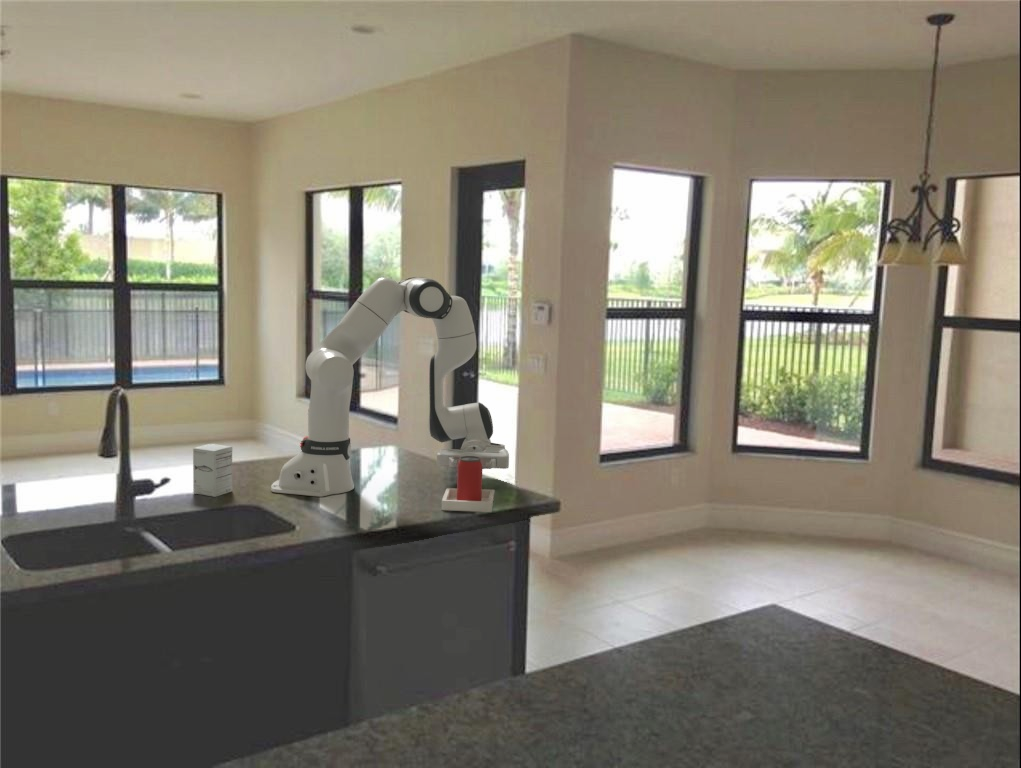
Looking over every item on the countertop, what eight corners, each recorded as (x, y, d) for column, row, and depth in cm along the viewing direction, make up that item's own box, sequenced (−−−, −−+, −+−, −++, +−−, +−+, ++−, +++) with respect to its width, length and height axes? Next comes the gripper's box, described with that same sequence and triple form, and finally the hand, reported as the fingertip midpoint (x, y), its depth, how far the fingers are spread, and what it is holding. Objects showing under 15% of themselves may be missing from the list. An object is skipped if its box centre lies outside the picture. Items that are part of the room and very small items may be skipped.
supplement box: (192, 494, 224) (191, 447, 223) (211, 487, 231) (211, 442, 229) (214, 497, 221) (213, 450, 220) (233, 491, 228) (233, 445, 227)
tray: (441, 510, 217) (441, 500, 217) (446, 496, 230) (446, 487, 230) (491, 512, 217) (492, 502, 216) (493, 498, 230) (494, 489, 229)
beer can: (470, 507, 219) (471, 462, 217) (451, 502, 223) (452, 458, 221) (486, 502, 224) (487, 458, 223) (467, 497, 228) (468, 454, 226)
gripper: (438, 442, 241) (433, 452, 228) (510, 444, 241) (508, 455, 227) (438, 463, 242) (432, 475, 228) (509, 466, 242) (507, 478, 228)
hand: (471, 465), depth 228 cm, fingers open, 8 cm apart
